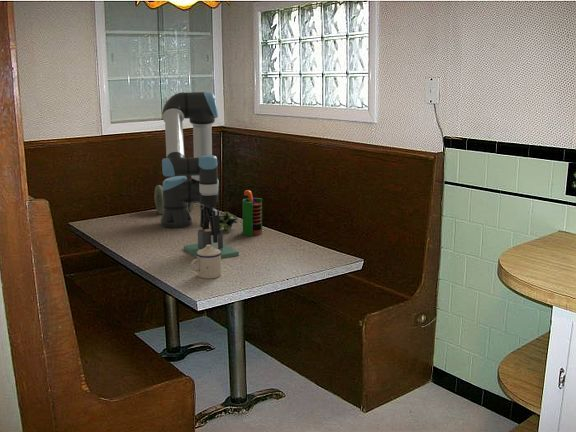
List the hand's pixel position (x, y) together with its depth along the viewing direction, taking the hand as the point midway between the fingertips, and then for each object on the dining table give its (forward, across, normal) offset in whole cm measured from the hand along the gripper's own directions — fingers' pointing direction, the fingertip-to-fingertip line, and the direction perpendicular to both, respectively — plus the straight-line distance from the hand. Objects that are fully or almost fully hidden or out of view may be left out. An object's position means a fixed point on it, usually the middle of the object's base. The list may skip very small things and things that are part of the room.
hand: (210, 247), depth 267 cm
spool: (+2, +78, -14) cm, 79 cm away
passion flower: (+2, +27, -20) cm, 34 cm away
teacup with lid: (+2, -27, +14) cm, 31 cm away
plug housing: (+1, 0, 0) cm, 1 cm away
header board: (+2, 0, 0) cm, 2 cm away
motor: (+2, +18, -29) cm, 34 cm away
